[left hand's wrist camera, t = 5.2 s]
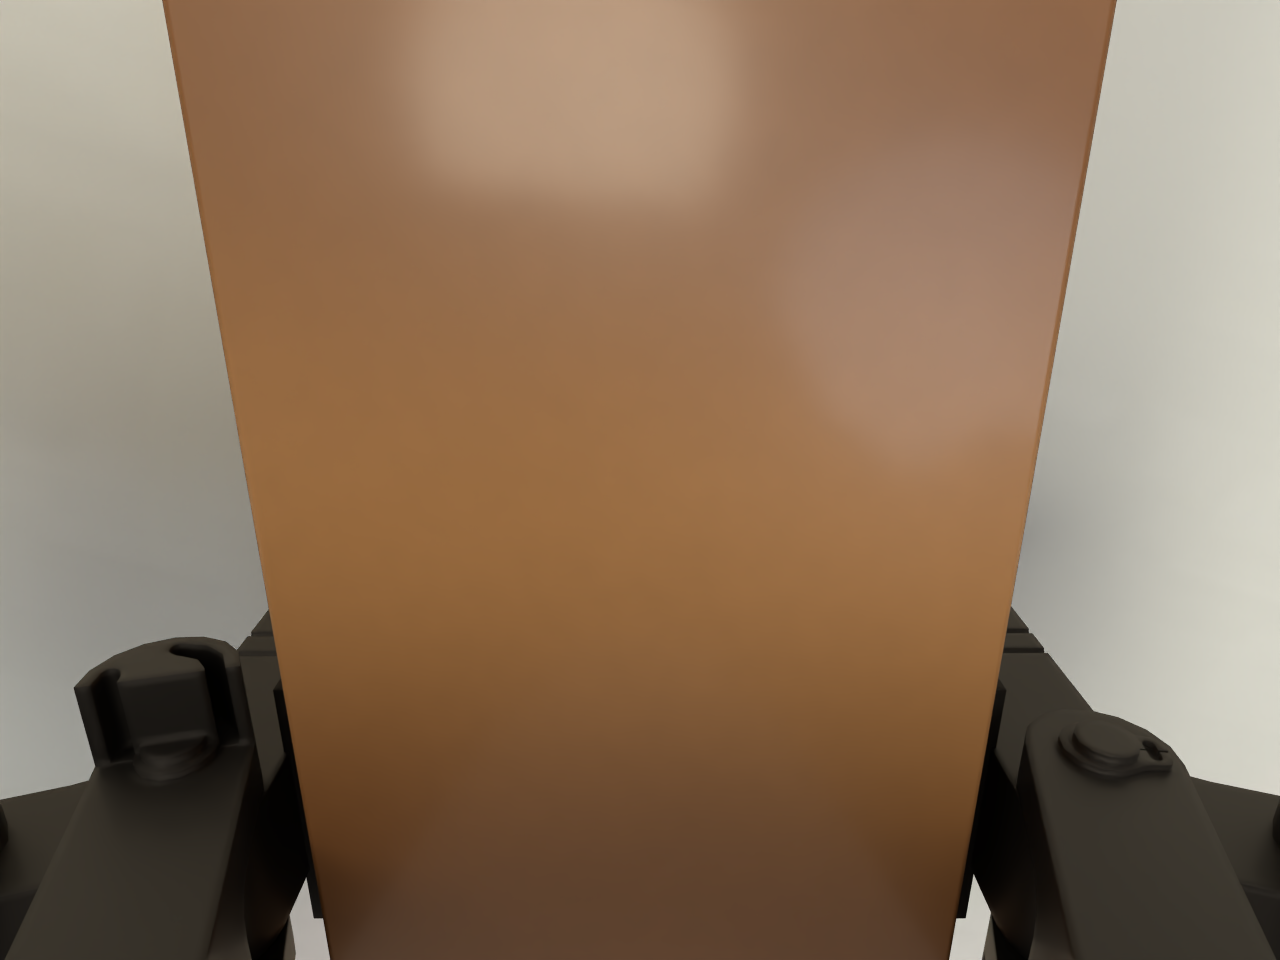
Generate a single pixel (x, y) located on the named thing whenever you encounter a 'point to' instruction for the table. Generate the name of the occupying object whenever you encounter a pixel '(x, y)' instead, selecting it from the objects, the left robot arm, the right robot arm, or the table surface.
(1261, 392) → the table surface
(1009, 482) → the bar
